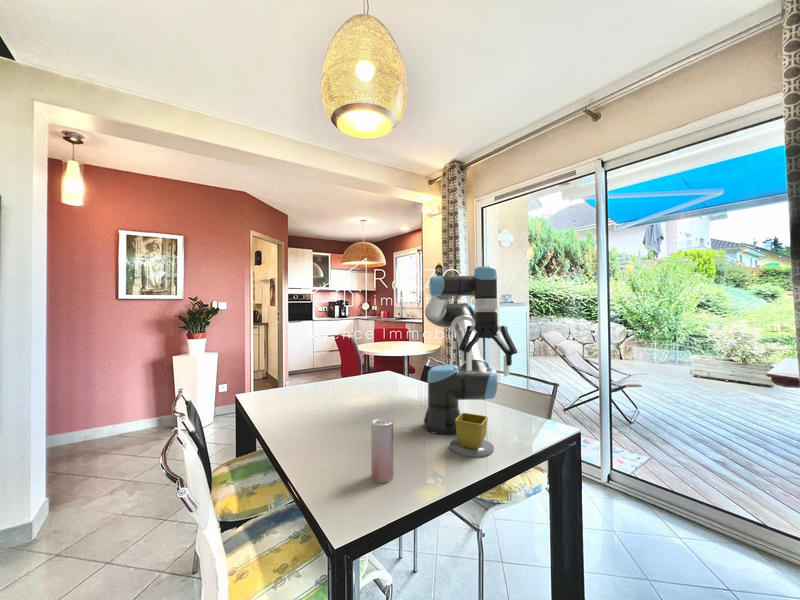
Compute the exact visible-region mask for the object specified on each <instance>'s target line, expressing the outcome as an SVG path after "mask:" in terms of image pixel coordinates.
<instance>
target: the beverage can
mask: <svg viewBox="0 0 800 600" xmlns="http://www.w3.org/2000/svg"><path fill="white" fill-rule="evenodd" d="M370 443H371V446H370V447H371V449H370V451H371V452H370V457H371V459H370V461H371V462H370V463H371V465H370V466H371V468H370V469H371V471H370V472H371V479H372V480H373V482H375V483H379V484H385V483H389V482H390V481H392V479H393V478H394V475H395V474H394V472H395V471H394V469H395V468H394V424H393V420H392V419H389V418H386V417H385V418H375V419H372V421H371V425H370Z"/></svg>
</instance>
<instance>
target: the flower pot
mask: <svg viewBox="0 0 800 600" xmlns="http://www.w3.org/2000/svg"><path fill="white" fill-rule="evenodd" d="M488 417H489V416H487V415H482V414H476V413H475V414H474V413H469V412H462V413H461V412H460V415H459V416H458V417H457V418H456V419H455V424H456V433H455V434H456V437H457V438H458V440H459V442H460V444H461V445H462V446H463V447H467V448H472V449H478V448H479V447H480V445H481V443H482V442H483V440H485V437H486V433H487V430H488V429H487V426H488Z"/></svg>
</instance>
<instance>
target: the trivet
mask: <svg viewBox="0 0 800 600" xmlns="http://www.w3.org/2000/svg"><path fill="white" fill-rule="evenodd" d="M449 449H450V451H451V452H453V453H455V454H456V455H459V456H462V457H465V458H474V459H475V458H480V459H481V458H485V457H486V458H487V457H489V456H491V455H492V454H493V453H494V449H495V448H494V445H493V444H492V442H490V441H488V440H486V439H484V440H483V442H482V443H481V445H480V447H479V448H478V449H472V448H467V447H463V446H462V445H461V444H460V442H459V440H458V437H457V438H456V437H455V438H454V439H452V440H451V441H450V442H449Z"/></svg>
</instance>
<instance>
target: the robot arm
mask: <svg viewBox="0 0 800 600" xmlns="http://www.w3.org/2000/svg"><path fill="white" fill-rule="evenodd" d="M497 281H498V275H497V268H496V267H495V266H491V265H490V266H487V265H485V266H478V267H476V268H474V272H473V275H437V276H435V275H434V276H431V277H430V278H429V287H428V288H429V289H428V290H429V295H430V300H429V303H427V305H426V307H425V310H424V311H425V312H424V314H425V317H426V319H427V320H428V321H429V322H430V323H431V324H433V325H435V326H437V327H441V328H451V330H452V332H454V333H455V337H456V340H457V346H458V350H459V355H460V358H461V363H462V364H461V366H460V368H459V366H458V365H457V364H442V365H437V366H434V367H431V368H429V370H428V372H427V409H426V413H425V415H424V419H423V428H424V429H425V430H426V431H428V432H430V433H432V434H433V433H434V434H437V435H438V434H439V435H452V434H457V433H456V424H455V419H456V418H457V417H458V416H459V415H460V414H461V411H460V408H459V401H460V400H461V401H462V400H464V401H465V400H466V401H468V400H471V401H472V400H475V401H476V400H478V401H479V400H480V401H481V400H483V401H486V400H493V399H494V398H496V396H497V393H498V382H499V380H498V371H497V370H496V368H493V367H491V368H490V365H489V363H488V362H487V361H486V360H484V358H483V355H482V352H481V351H482V350H481V348H480V346H479V340H480V339H488V340H489V339H492V340H493V341H494V342H495V343H496V345H498V348H500V349H501V350H502V352H503V353H504V354H505V355H503V376H504V377H508V376H510V366H512V363H513V362H512V357H513V355H516V354H517V353H518V349H517V347H516V346H515V344H514V342H513V340H512V338H511V336H510V334H509V332H508V326H507V325H500V326H499V325H498V321H499V320H498V312H497V310H498V282H497ZM461 296H462V297H463V296H465V297H470V296H471V297H474V304H472V303H469V302H461V303H459V302H456V303H455V302H454V303H453V302H451V303H449V302H450V299H451V297H461ZM498 331H499V332H500V333H501V335H502V337H503V339H501V337H500V336H499V334H498ZM503 340H504V341H505V342H504V341H503Z"/></svg>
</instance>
